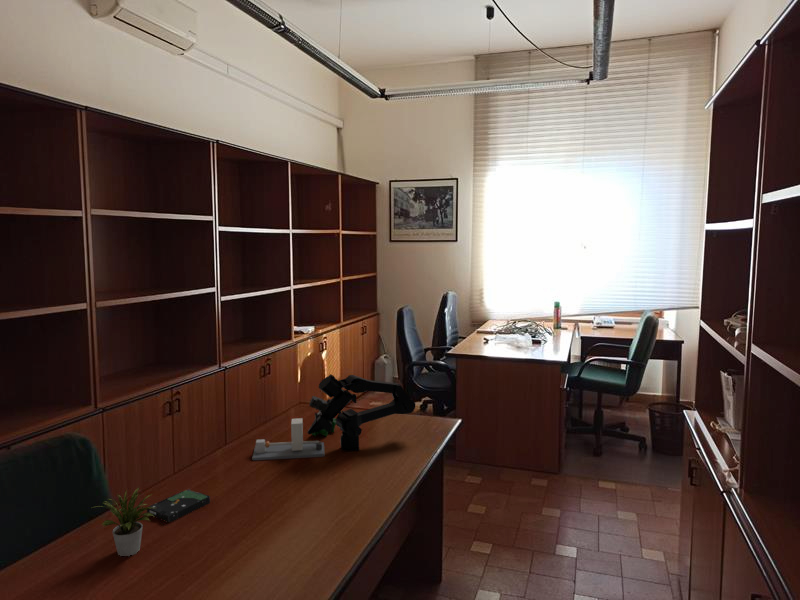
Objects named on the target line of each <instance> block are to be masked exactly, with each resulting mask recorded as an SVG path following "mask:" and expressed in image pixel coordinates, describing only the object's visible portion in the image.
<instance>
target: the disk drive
mask: <svg viewBox="0 0 800 600" xmlns="http://www.w3.org/2000/svg"><path fill="white" fill-rule="evenodd" d="M210 497H211V496H210V495H207V494H204V493H201V492H196V491H194V490H191V489H190V488H188V489H185V490H182V491H180V492H178V493H175V494H174V495H171V496H169V497H166V498H165V499H163V500H160V501H158V502H156V503H153V504H150V505H148V507H153V508H151V509H147V510H146V513H152V514H153V516H155V517H157V518H160V519H162V520H165V521H167V522H171V521H173V522H175V521H177V520H179V519H181V518H182V516H183V517H185V516H187V515H188V513H189V514H191V513H193V512H195V511H197V510H199V509H201V508H203V507H205V506H207V505H209V504H210V503H211V498H210ZM200 507H201V508H200ZM198 508H199V509H198ZM196 509H197V510H196ZM194 510H195V511H194ZM192 511H193V512H192ZM190 512H191V513H190ZM186 514H187V515H186ZM184 515H185V516H184ZM155 517H154V518H155ZM180 517H181V518H180ZM157 518H156V519H157ZM178 518H179V519H178ZM160 519H159V520H160ZM176 519H177V520H176ZM162 520H161V521H162ZM174 520H175V521H174ZM165 521H164V522H165ZM167 522H166V523H167ZM171 523H172V522H171Z"/></svg>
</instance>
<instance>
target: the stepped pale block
mask: <svg viewBox="0 0 800 600" xmlns="http://www.w3.org/2000/svg"><path fill="white" fill-rule="evenodd" d="M303 426H304V422H303V417H300V418H291V423H290V428H291V429H290V430H291V435H290V436H291V442H292V451H295V450H303V441H304V431H303V429H304V427H303Z"/></svg>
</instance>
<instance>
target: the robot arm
mask: <svg viewBox="0 0 800 600" xmlns="http://www.w3.org/2000/svg"><path fill="white" fill-rule="evenodd" d="M318 389H320V391H322V392H323V393H324V394H326V395H327V396H328V397H329V399H327V400H325V399H323V398H320V397H317V396H315V395H312V397H311V399H310V402H309V403H308V404H309V407H310V408H312V409H315V410H318V412H314V420H313V422H312V423H311V425H310V426H309V429H308V430H307V431H306V432H307V434H308V435H312V433H315V432H317V431H320V430H323V429H325V430H326V431H327V432H328V433H330V432H331V430H332V429H333V425H332V422H333V421H334V418H335V419H336V425H335V426H337V427H338V428H339V430H340V431H342V432H341V435H340V449H342V450H341V451H342V452H353V451H354V452H355V451H357V452H358V451H360V450H361V449H360V448H361V447H360V436H361V435H362V431H363V428H361V426H362V425H363V424H365V423H369V422H372V421H376V420H378V419H383V418H386V417H389V416H392V415H395V414H396V415H409V414H412V413H414V410H415V409H416V402H415V401H414V399H412V398H411V397H410V396H409V394H408V393H407V392H406V391H405V390H404V388H403V386H402V385H401V384H399V383H397V382H395V381H394V382H389V381H379V380H371V379H366V378H363V377H361V376H358V375H355V374H349V375H348V376H347V377H346V378H343V379H339V380H338V379H337V378H336V377H335V376H334V375H333V374H329V375H328V376H325V377H324V378H322V379H321V380H320V381H319V384H318ZM344 389H345V390H344ZM350 391H351V392H352V393H351V392H350ZM365 392H375V393H376V392H378V393H387V394H391V396H392V400H391V401H390V402H388V403H385V404H382V405H378V406H375V407H372V408H368V409H365V410H361V411H356V410H354V409H352V408H349V409H347V410H343V409H345V407H346V406H347V405H348V404H349V403H351V402H353V403H354V404H357V397H358V396H357V394H363V393H365Z"/></svg>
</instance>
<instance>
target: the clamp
mask: <svg viewBox="0 0 800 600" xmlns="http://www.w3.org/2000/svg"><path fill="white" fill-rule="evenodd" d="M332 425H333V429H332V430H331V431H330V432H331V433H334V432H335V429H336V428H335V427H336V426H337V425H336V417H335V418H334V421H333V422H332ZM318 434H319V435H322V436H325V437H328V435H329V432H327V431H326V430H325V429H323V430H320V431H317V432H315V433H312V434H311V435H312V436H314V437H317V436H319V435H318ZM316 435H317V436H316Z"/></svg>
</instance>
